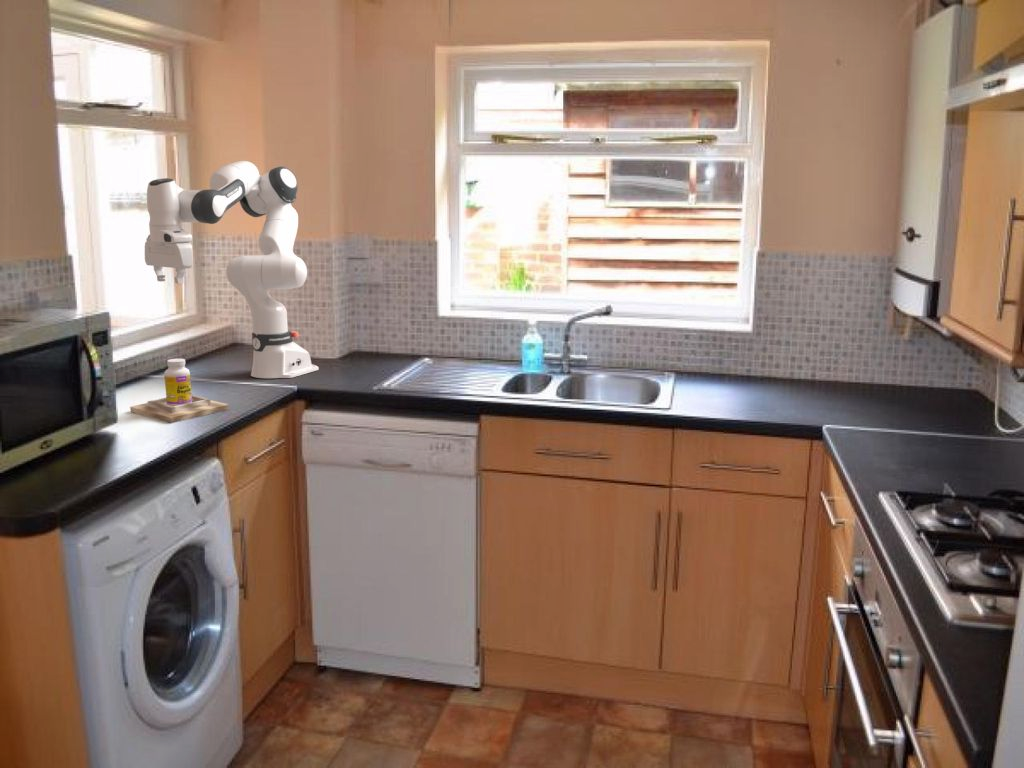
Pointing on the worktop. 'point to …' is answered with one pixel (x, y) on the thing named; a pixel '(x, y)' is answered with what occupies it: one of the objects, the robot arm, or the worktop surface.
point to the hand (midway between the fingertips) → (170, 282)
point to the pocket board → (179, 409)
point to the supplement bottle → (177, 383)
